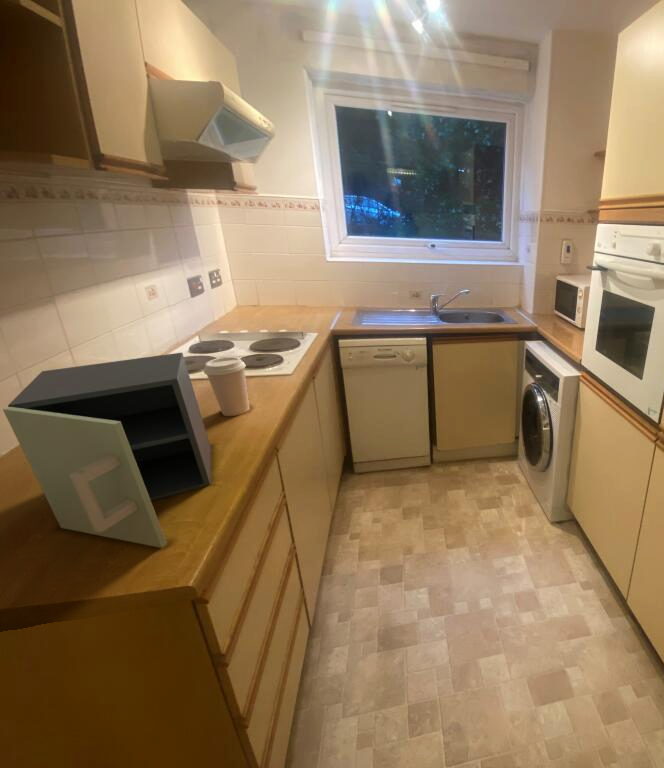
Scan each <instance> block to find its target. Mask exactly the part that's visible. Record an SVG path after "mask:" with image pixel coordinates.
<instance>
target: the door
mask: <svg viewBox="0 0 664 768" xmlns="http://www.w3.org/2000/svg"><path fill="white" fill-rule="evenodd" d="M2 411H3V413H4V415H5V418H6V419H7V421H8V424H9V426H10V427H11V429H12V431H13V433H14V435H15V437H16V439H17V440H16V441H18V443H19V446H20V448H21V449H22V452H23V454H24V456H25V458H26V460H27V462H28V463H29V466H30V469H31V470H32V472H33V474H34V476H35V478H36V480H37V482H38V484H39V486H40V488H41V490H42V492H43V495H44V497H45V498H46V500H47V503H48V504H49V507H50V508H51V511H52V512H53V515H54V517H55V519H56V521H57V523H58V525H59V527H60V528H61V529H66V530H71V531H75V532H81V533H85V534H91V535H95V536H101V537H106V538H111V539H116V540H121V541H125V542H129V543H136V544H139V545H145V546H150V547H156V548H160V549H163V547H165V546H166V545H167V544H168V542H167V540H166V537H165V534H164V532H163V529H162V527H161V524H160V521H159V519H158V516H157V513H156V511H155V509H154V506H153V503H152V500H150V498H149V495H148V492H147V490H146V487H145V485H144V482H143V479H142V477H141V474H140V471H139V469H138V466H137V464H136V461H135V458H134V456H133V453H132V451H131V448H130V445H129V443H128V440H127V437H126V435H125V432H124V430H123V427H122V424H121V422H120V421H113V420H106V419H98V418H91V417H83V416H76V415H68V414H60V413H53V412H45V411H38V410H30V409H23V408H15V407H8V406H7V407H5V408H2Z"/></svg>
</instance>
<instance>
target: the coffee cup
mask: <svg viewBox="0 0 664 768" xmlns="http://www.w3.org/2000/svg"><path fill="white" fill-rule="evenodd" d="M246 366H247V365H246V363H245V362H244V361H243V360H242V359H241V358H240V357H238V356H223V357H218V358H214V359H211V360H209V361H206V363H205V366H204V368H203V373H204V375H206V376H207V379H208V381H209V383H210V386H211V388H212V391H213V393H214V396H215V399H216V401H217V403H218V405H219V408H220V411H221V414H222V415H223V416H225V417H235V416H239V415H242V414H245V413H247V412H248V411H250V409H251V407H250V400H249V394H248V387H247V386H248V385H247V380H246V373H245V368H246Z"/></svg>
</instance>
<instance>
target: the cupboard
mask: <svg viewBox="0 0 664 768" xmlns="http://www.w3.org/2000/svg"><path fill="white" fill-rule="evenodd" d="M187 366H188V365H187V363H186V360H185V357H184V353H183V352H175V353H168V354H160V355H159V354H158V355H153V356H144V357H137V358H131V359H130V358H129V359H123V360H115V361H107V362H101V363H93V364H85V365H79V366H78V365H77V366H70V367H65V368H55V369H49V370H48V369H47V370H42V371H41V372H40V373H39V374H38V375H36V377H34V379H32V381H31V382H30V383H29V384H28V385H27V386H25V388H24V389H23V390H22V391H20V392H19V394H18V395H17V396H16V397H15V398H14V399H13V400H11V402H10V403H9V404H8V405H7V408H8V407H15V408H23V409H30V410H38V411H45V412H53V413H60V414H68V415H76V416H83V417H91V418H98V419H106V420H113V421H120V422H121V424H122V427H123V430H124V432H125V435H126V437H127V440H128V443H129V445H130V448H131V451H132V453H133V456H134V458H135V461H136V464H137V466H138V469H139V471H140V474H141V477H142V479H143V482H144V485H145V487H146V490H147V492H148V495H149V498H150V500H151V501H154V500H155V501H156V500H159V499H161V498H166V497H170V496H173V495H177V494H181V493H184V492H188V491H192V490H195V489H200V488H204V487H207V486H210V485H211V444H210V440H209V437H208V433H207V431H206V430H207V429H206V427H205V424H204V420H203V417H202V416H203V415H202V413H201V410H200V406H199V403H198V400H197V397H196V393H195V390H194V387H193V384H192V380H191V376H190V374H189V370H188V367H187Z"/></svg>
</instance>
